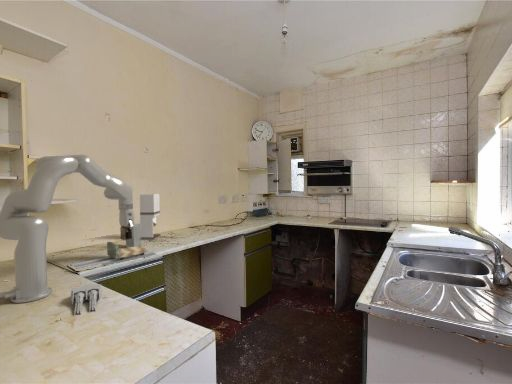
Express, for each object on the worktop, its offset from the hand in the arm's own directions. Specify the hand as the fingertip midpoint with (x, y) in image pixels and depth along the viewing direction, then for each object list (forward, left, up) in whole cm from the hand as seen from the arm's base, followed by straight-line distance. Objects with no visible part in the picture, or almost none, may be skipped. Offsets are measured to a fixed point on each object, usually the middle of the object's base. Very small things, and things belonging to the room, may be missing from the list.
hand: (126, 237), depth 157 cm
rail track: (-7, 0, -12) cm, 14 cm away
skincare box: (+14, +22, -12) cm, 29 cm away
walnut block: (0, 0, -1) cm, 1 cm away
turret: (-36, -49, -12) cm, 62 cm away
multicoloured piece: (0, 0, -11) cm, 11 cm away
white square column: (+35, +38, -12) cm, 53 cm away
